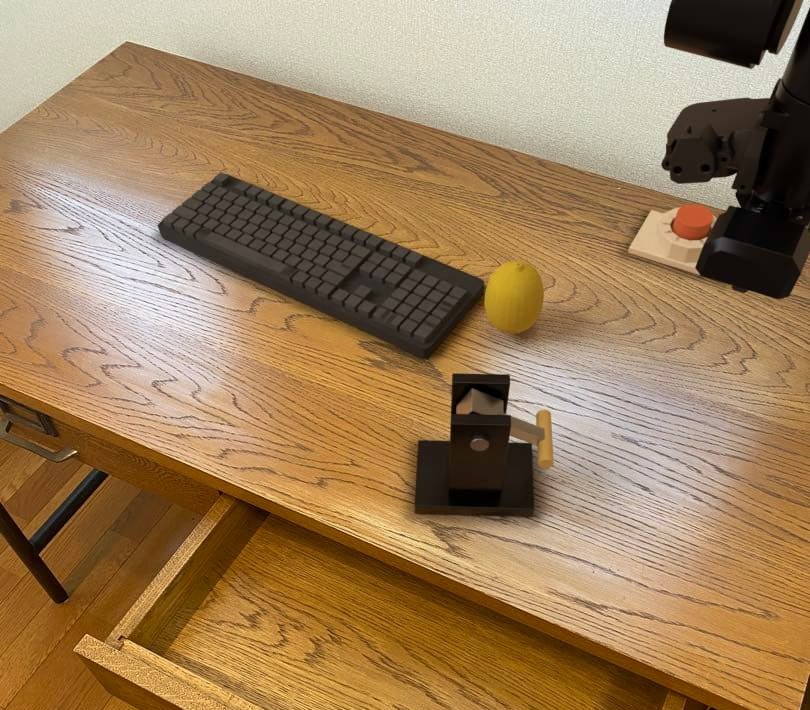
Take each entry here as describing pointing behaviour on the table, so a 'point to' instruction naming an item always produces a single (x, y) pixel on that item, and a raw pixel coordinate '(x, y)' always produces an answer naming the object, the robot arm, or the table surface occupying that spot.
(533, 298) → the lemon
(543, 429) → the lever
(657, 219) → the beige button base
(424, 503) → the black upright frame
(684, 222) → the button
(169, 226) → the keyboard
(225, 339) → the table surface
